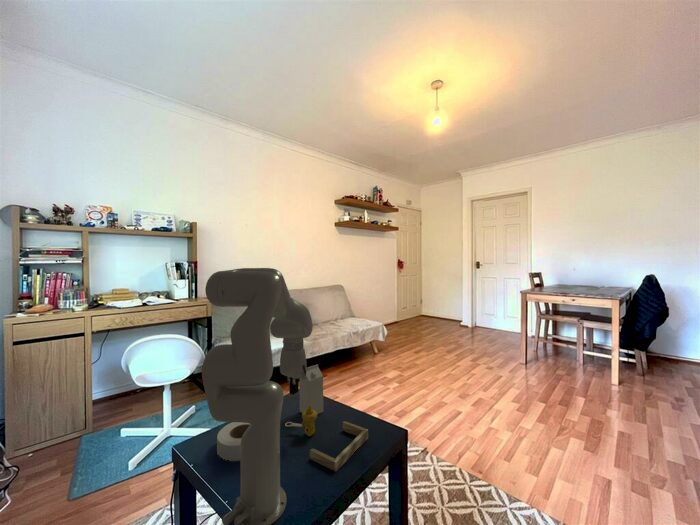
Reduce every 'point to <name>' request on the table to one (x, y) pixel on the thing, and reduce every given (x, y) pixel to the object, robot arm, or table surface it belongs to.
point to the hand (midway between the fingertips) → (294, 392)
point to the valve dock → (346, 453)
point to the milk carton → (312, 390)
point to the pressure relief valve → (306, 421)
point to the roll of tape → (231, 440)
